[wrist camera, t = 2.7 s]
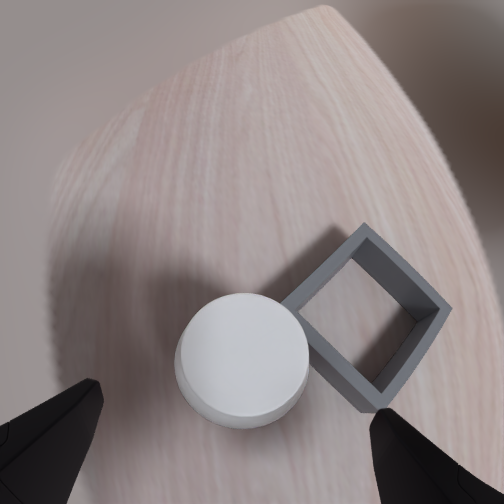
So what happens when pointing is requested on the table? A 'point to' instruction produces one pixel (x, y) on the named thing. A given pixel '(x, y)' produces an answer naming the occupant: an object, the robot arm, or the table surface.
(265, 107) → the table surface
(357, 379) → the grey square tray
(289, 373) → the pill bottle
